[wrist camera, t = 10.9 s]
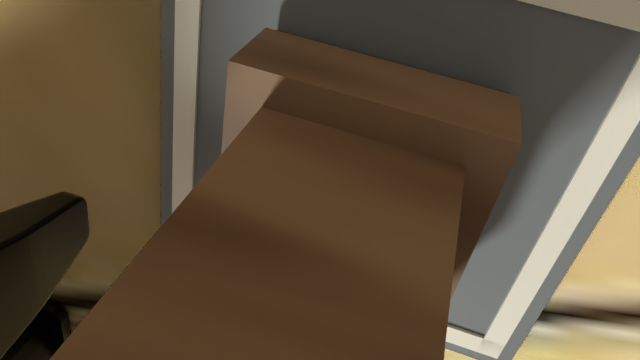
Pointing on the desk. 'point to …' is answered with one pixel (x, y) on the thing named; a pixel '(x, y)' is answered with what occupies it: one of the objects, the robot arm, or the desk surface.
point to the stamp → (317, 216)
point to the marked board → (464, 64)
